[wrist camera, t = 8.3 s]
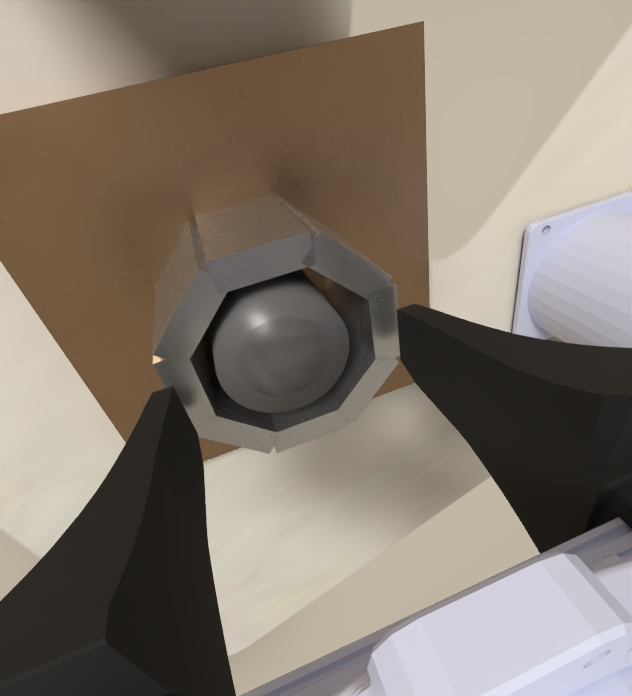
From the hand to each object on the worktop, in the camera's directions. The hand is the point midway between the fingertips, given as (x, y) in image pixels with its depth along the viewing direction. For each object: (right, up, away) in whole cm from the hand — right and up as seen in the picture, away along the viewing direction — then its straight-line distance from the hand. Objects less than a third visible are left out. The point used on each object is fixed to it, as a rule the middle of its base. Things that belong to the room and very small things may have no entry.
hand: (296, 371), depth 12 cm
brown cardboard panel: (-2, +3, +5) cm, 7 cm away
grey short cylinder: (-2, +3, +5) cm, 6 cm away
